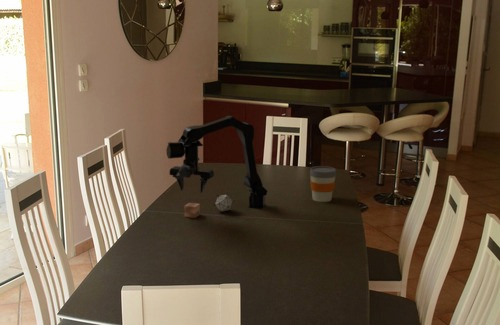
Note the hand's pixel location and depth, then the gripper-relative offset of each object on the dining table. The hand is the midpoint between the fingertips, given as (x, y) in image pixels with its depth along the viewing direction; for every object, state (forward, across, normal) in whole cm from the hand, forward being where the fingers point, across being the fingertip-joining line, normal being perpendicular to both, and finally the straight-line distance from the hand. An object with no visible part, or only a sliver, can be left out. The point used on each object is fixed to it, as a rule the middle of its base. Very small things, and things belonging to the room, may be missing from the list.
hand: (191, 191), depth 240 cm
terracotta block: (+11, 0, 0) cm, 11 cm away
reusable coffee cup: (+11, +49, +43) cm, 66 cm away
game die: (+11, +11, +10) cm, 19 cm away
